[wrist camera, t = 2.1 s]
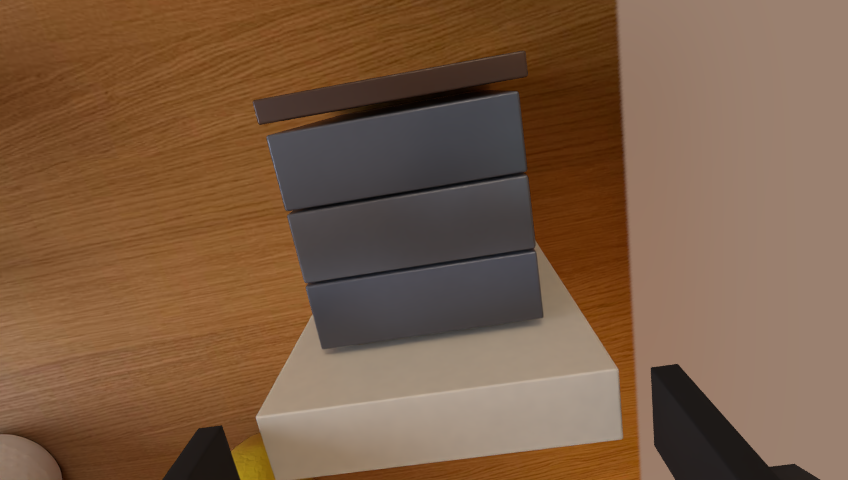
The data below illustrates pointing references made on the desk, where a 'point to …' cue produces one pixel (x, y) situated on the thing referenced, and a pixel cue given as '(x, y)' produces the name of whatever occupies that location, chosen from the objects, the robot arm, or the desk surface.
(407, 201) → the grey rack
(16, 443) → the mug
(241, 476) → the apple
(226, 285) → the desk surface
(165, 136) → the desk surface
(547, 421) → the cream book
